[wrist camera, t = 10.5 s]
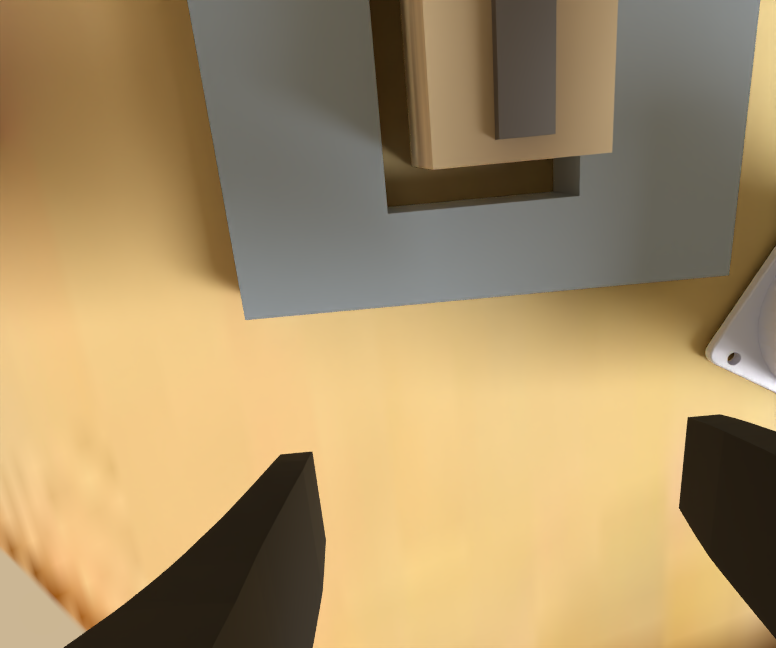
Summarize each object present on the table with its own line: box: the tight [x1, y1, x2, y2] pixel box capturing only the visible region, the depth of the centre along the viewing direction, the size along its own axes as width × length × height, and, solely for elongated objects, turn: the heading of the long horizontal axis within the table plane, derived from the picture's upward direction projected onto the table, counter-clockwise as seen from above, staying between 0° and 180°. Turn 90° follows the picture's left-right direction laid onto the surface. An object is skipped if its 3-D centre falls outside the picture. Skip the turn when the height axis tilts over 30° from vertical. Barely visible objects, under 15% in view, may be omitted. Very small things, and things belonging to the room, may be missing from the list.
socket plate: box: [187, 0, 760, 320], centre depth 16 cm, size 16×14×2 cm
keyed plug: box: [399, 0, 618, 170], centre depth 14 cm, size 4×6×7 cm, turn 5°
